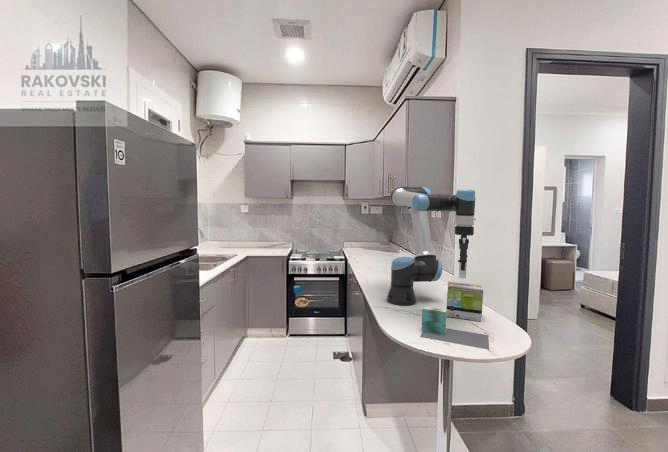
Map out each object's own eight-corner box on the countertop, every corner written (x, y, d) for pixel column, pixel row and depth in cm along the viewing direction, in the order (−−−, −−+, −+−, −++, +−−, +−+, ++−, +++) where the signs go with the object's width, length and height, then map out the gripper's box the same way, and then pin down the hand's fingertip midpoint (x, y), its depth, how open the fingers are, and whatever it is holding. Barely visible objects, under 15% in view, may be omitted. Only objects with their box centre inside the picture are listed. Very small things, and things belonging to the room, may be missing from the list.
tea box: (446, 317, 146) (447, 285, 145) (446, 310, 156) (447, 281, 155) (482, 322, 141) (483, 289, 140) (480, 314, 150) (481, 284, 149)
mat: (419, 338, 122) (420, 336, 122) (425, 325, 135) (425, 324, 135) (489, 351, 112) (489, 349, 112) (488, 336, 125) (488, 335, 125)
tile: (421, 330, 128) (422, 308, 128) (422, 328, 131) (423, 306, 130) (444, 334, 125) (445, 312, 124) (445, 332, 127) (446, 310, 127)
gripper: (475, 227, 123) (472, 281, 124) (472, 224, 146) (470, 270, 147) (454, 226, 125) (452, 280, 127) (455, 224, 148) (453, 268, 150)
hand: (462, 274), depth 137 cm, fingers open, 13 cm apart
